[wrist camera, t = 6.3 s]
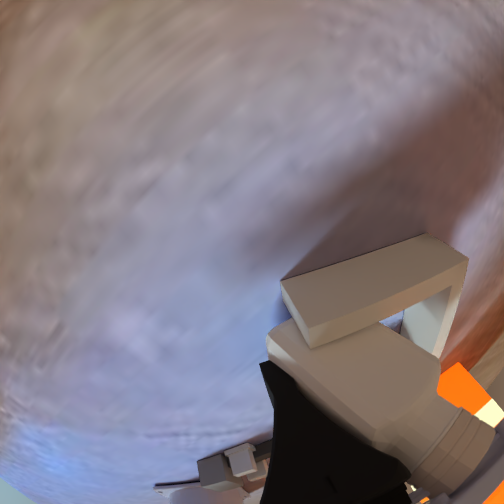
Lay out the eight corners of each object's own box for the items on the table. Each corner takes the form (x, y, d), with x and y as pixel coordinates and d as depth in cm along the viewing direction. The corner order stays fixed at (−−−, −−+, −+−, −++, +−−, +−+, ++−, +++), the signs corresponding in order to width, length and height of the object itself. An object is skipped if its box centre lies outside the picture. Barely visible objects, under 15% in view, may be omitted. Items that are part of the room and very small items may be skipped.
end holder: (408, 343, 16) (433, 372, 13) (296, 391, 15) (314, 431, 12) (426, 232, 12) (469, 258, 10) (279, 281, 11) (308, 328, 9)
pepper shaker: (267, 387, 12) (411, 520, 5) (257, 328, 11) (461, 496, 3) (329, 348, 14) (469, 449, 7) (332, 287, 12) (517, 397, 5)
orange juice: (391, 405, 20) (488, 559, 2) (459, 360, 21) (557, 484, 3) (380, 436, 24) (453, 560, 6) (440, 399, 24) (516, 506, 7)
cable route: (385, 372, 17) (402, 396, 15) (219, 469, 18) (224, 493, 16) (372, 356, 15) (392, 383, 13) (192, 463, 17) (196, 488, 15)
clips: (385, 378, 17) (401, 399, 15) (254, 462, 19) (260, 483, 17) (364, 358, 15) (383, 383, 13) (216, 454, 17) (221, 478, 15)
